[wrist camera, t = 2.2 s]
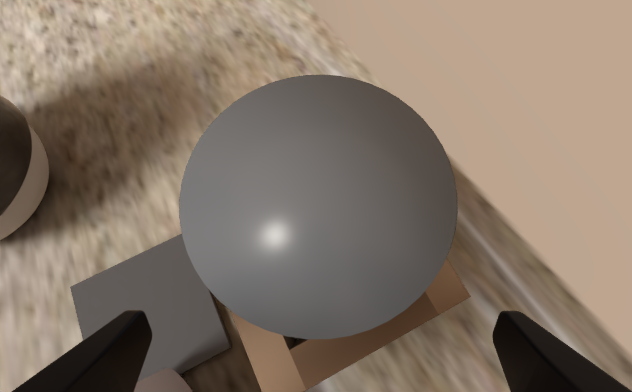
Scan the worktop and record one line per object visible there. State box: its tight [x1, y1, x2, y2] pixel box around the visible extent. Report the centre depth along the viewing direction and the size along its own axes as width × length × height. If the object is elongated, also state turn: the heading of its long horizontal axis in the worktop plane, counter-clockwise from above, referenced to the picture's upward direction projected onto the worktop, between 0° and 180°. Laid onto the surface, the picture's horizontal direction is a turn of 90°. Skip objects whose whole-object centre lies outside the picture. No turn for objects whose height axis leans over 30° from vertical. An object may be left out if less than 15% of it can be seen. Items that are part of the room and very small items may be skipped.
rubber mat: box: [70, 234, 232, 382], centre depth 18 cm, size 7×7×1 cm
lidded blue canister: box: [179, 75, 457, 339], centre depth 13 cm, size 6×6×12 cm
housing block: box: [230, 258, 471, 392], centre depth 17 cm, size 10×10×4 cm
